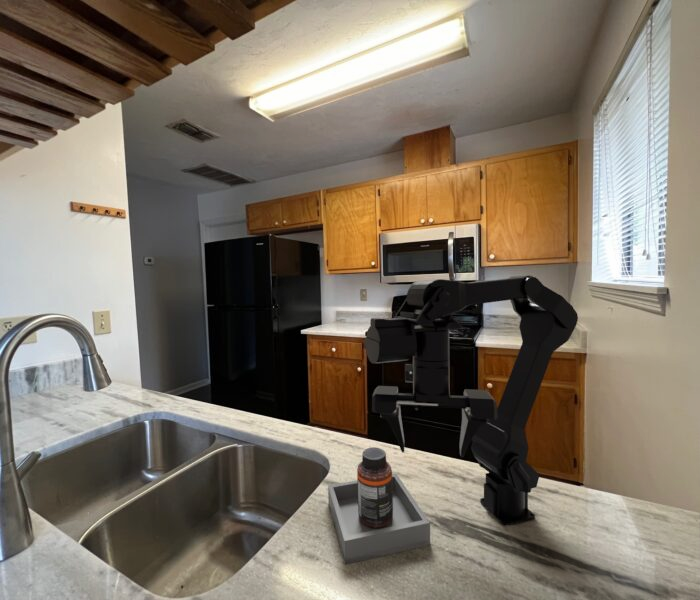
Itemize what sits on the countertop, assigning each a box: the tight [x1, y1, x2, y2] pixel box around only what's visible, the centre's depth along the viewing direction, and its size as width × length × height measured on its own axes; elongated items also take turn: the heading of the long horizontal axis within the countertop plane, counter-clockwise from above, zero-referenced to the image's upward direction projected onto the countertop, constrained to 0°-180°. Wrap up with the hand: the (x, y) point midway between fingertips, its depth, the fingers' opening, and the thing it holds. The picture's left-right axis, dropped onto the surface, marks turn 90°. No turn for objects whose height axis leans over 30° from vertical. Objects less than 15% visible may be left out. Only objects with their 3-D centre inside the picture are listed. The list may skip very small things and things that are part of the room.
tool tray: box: [327, 473, 431, 565], centre depth 54 cm, size 14×14×4 cm
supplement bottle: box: [356, 447, 393, 529], centre depth 54 cm, size 6×6×11 cm
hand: (431, 453), depth 52 cm, fingers open, 9 cm apart
